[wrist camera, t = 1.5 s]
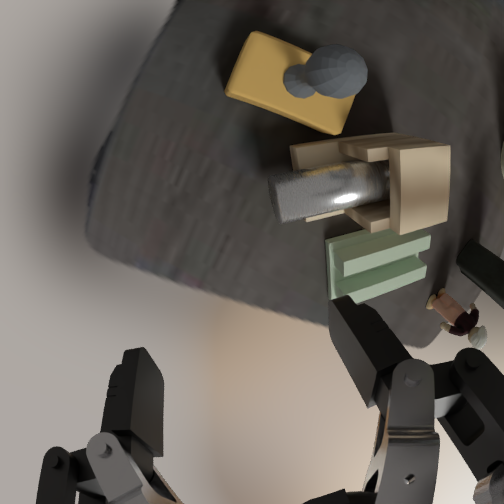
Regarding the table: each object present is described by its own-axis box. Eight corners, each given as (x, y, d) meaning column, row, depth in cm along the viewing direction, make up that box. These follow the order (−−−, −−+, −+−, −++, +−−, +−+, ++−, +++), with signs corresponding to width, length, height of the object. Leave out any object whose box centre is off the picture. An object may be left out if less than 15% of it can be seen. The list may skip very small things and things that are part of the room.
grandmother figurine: (422, 316, 40) (465, 367, 29) (420, 302, 38) (468, 354, 27) (453, 291, 39) (499, 335, 28) (453, 276, 37) (502, 321, 26)
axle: (273, 214, 25) (285, 231, 22) (265, 171, 23) (277, 182, 20) (399, 186, 26) (424, 198, 22) (398, 149, 24) (424, 157, 21)
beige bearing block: (289, 145, 24) (328, 160, 17) (393, 132, 25) (450, 145, 18) (299, 214, 28) (335, 253, 20) (396, 193, 29) (446, 220, 21)
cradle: (325, 239, 30) (338, 254, 27) (416, 215, 30) (434, 226, 27) (328, 297, 33) (339, 315, 30) (411, 269, 34) (426, 282, 31)
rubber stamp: (342, 82, 22) (428, 74, 12) (322, 133, 24) (402, 152, 14) (245, 39, 19) (283, -15, 9) (222, 95, 21) (242, 74, 11)
